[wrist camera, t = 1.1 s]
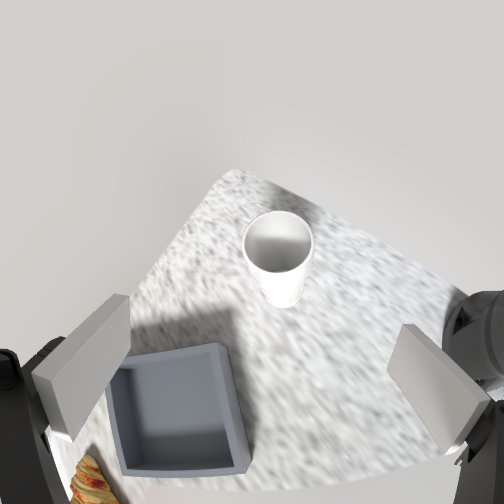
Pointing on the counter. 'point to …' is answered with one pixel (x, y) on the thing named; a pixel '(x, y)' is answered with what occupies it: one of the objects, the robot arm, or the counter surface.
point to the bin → (178, 414)
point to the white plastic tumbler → (279, 255)
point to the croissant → (90, 484)
